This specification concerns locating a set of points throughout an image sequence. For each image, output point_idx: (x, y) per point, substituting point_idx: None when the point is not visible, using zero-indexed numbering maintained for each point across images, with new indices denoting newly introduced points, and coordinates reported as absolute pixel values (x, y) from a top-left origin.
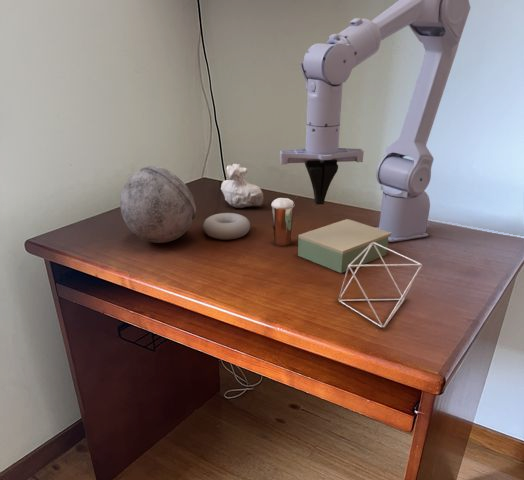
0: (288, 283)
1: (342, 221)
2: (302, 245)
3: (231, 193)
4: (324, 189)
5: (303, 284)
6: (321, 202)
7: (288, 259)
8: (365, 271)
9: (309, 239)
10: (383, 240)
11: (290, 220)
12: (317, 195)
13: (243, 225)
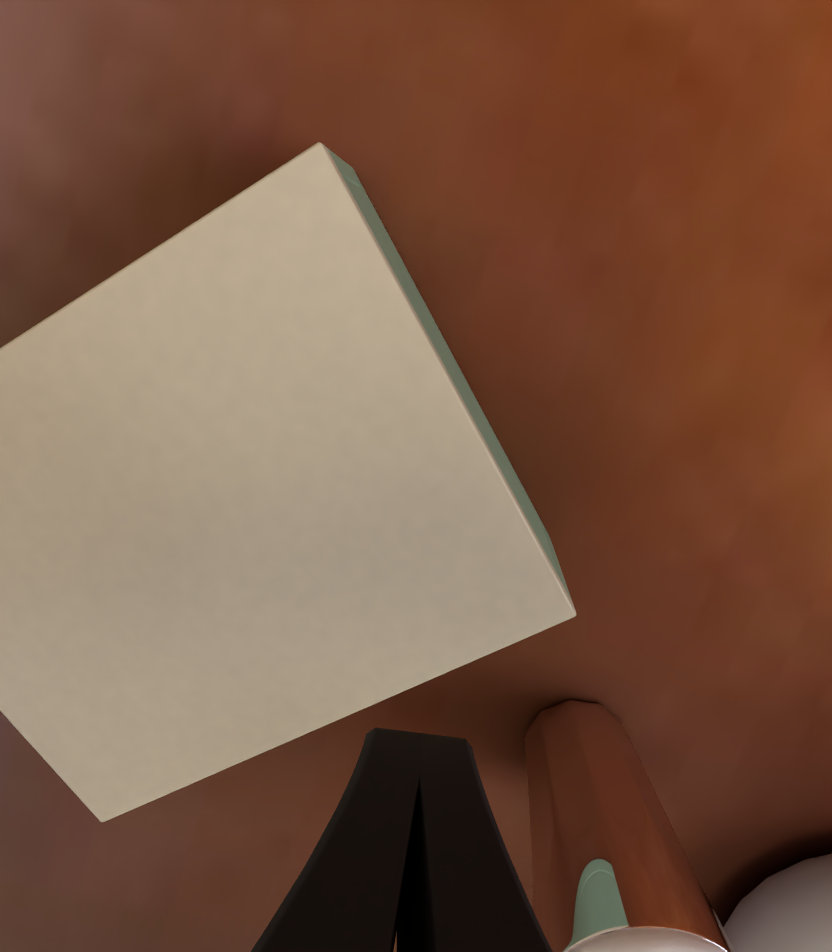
0: (804, 68)
1: (149, 785)
2: (544, 540)
3: None
4: (357, 903)
5: (700, 18)
6: (404, 745)
7: (631, 497)
8: (162, 161)
9: (520, 509)
10: None
11: (571, 837)
12: (480, 833)
13: (814, 934)
